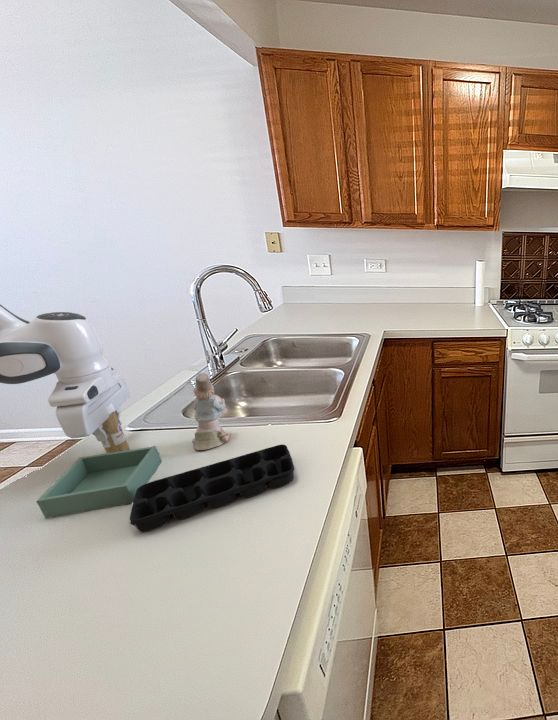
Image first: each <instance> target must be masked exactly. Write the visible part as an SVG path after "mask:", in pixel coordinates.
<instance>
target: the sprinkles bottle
mask: <svg viewBox="0 0 558 720" xmlns="http://www.w3.org/2000/svg"><path fill="white" fill-rule="evenodd" d="M106 410H107V412H108V414H109V418H108V419H107V420H106V421H105V422H104V423H103V424H102V426H103V428H102V429H103V430H104V431H108V433H109V438H108V439H107V440H106V441H100V444H101V445H102V447H103V448H104V451H105V454H106V453H113V452H119V451H126V450H132V449H131V447H130V445H129V443H128V441H127V437H126V435H125V433H124V430H123V428H122V424H121V425H120V423H119V422H118V419H117V417H116V414H115V411H114V410H115V409H114V407H113V404H112V403H111V404H109V405H108V406H107V407H106Z"/></svg>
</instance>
